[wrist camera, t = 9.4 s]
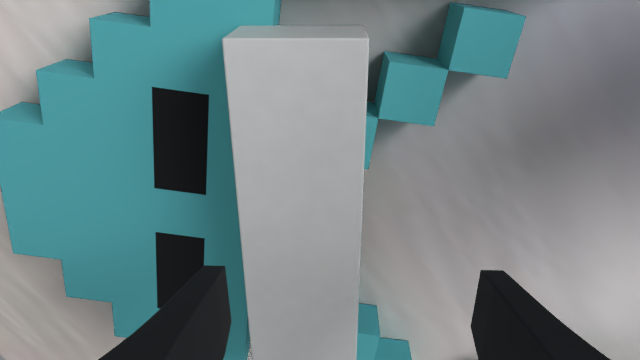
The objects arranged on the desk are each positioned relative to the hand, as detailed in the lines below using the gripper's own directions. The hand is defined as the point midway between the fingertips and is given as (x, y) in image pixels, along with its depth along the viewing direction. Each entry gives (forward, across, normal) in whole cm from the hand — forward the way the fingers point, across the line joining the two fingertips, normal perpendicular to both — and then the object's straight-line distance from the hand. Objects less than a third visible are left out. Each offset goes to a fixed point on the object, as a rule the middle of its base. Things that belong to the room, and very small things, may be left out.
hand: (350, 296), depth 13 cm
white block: (+7, +2, +1) cm, 7 cm away
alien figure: (+9, +5, +2) cm, 11 cm away
